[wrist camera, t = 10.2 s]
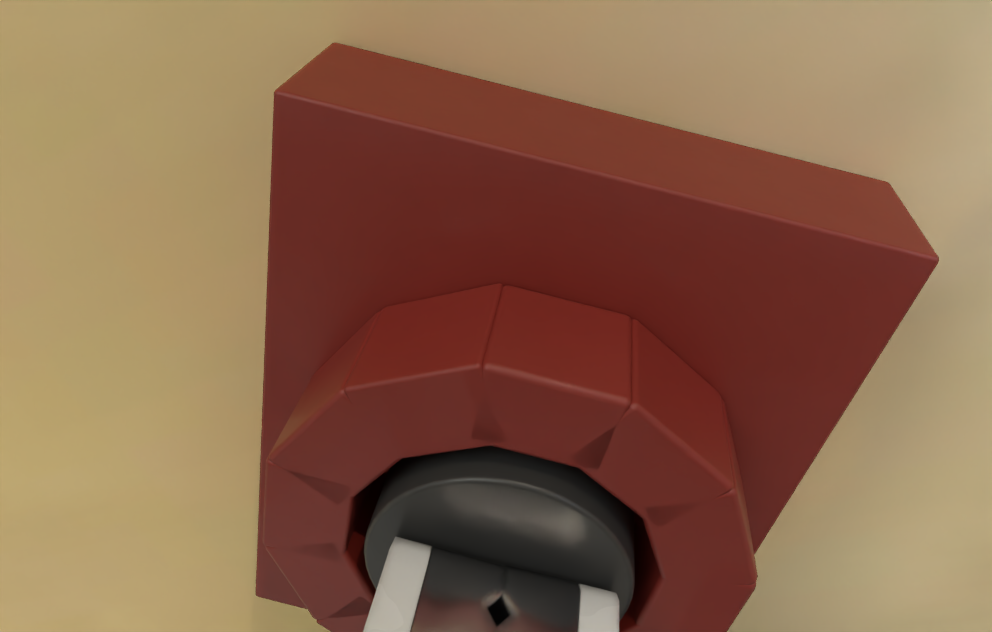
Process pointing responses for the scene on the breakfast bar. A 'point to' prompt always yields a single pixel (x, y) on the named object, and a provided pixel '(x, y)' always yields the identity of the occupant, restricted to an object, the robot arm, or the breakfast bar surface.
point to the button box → (555, 320)
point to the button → (507, 517)
